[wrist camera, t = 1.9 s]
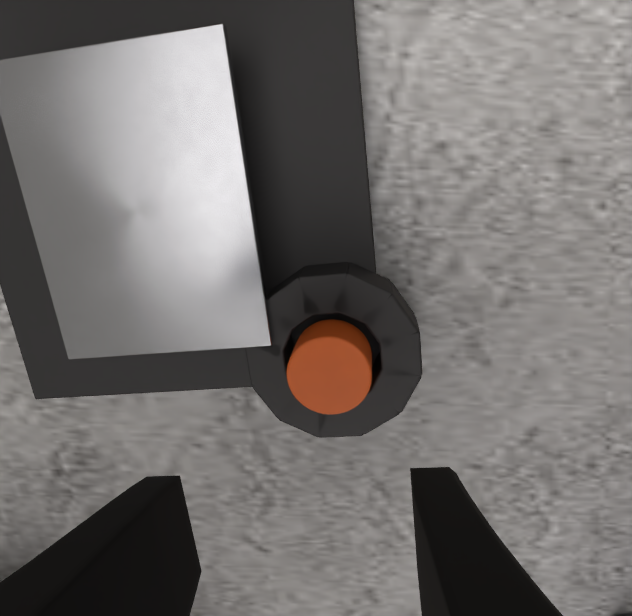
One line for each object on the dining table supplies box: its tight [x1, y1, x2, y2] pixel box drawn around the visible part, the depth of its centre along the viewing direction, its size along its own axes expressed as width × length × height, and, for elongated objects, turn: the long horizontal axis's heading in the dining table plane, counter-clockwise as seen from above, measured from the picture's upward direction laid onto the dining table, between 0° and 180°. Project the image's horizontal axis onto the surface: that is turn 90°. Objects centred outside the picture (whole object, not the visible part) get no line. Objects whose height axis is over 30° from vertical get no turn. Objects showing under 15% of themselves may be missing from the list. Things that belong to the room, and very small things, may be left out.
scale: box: [0, 0, 422, 437], centre depth 15 cm, size 14×14×2 cm
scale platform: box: [0, 23, 273, 360], centre depth 14 cm, size 7×9×1 cm
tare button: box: [286, 319, 372, 414], centre depth 14 cm, size 2×2×2 cm
